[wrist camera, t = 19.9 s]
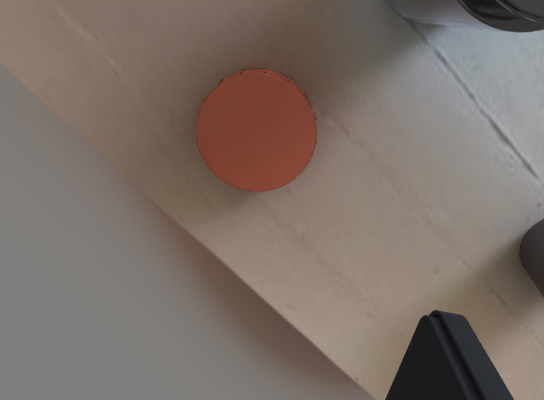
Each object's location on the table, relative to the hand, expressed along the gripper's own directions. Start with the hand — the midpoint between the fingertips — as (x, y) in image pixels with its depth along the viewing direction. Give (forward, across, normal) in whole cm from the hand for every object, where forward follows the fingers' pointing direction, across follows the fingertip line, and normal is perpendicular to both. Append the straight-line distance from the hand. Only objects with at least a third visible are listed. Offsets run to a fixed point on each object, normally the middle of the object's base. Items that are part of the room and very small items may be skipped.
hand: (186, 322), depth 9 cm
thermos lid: (+20, -1, +2) cm, 20 cm away
